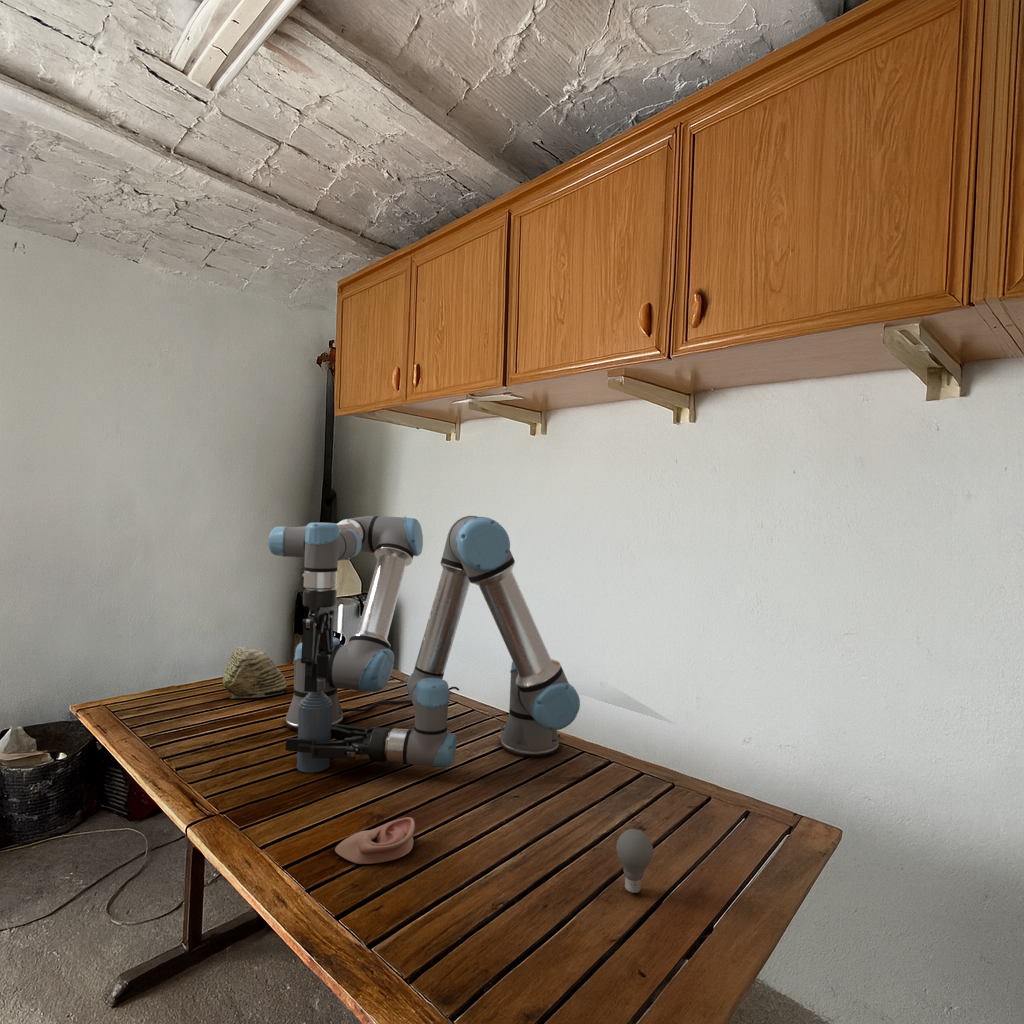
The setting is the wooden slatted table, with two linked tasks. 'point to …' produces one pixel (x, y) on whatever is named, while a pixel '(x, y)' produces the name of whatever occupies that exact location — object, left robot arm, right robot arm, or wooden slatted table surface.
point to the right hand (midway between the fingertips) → (294, 737)
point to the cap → (321, 683)
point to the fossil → (252, 674)
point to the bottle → (314, 728)
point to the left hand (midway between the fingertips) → (316, 686)
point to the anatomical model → (379, 843)
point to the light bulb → (634, 857)
